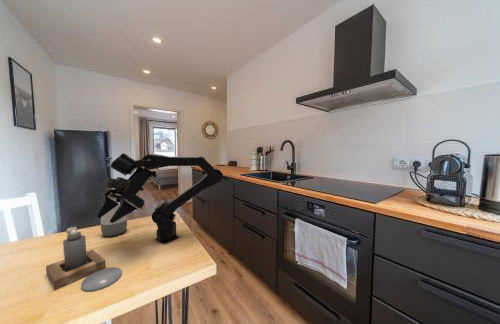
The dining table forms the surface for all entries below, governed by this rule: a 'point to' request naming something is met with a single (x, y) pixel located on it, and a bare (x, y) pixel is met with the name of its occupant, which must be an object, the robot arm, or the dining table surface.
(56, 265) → the mill stand
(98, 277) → the slate coaster
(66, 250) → the pepper mill
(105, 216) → the smart speaker
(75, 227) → the rook chess piece
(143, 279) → the dining table surface
